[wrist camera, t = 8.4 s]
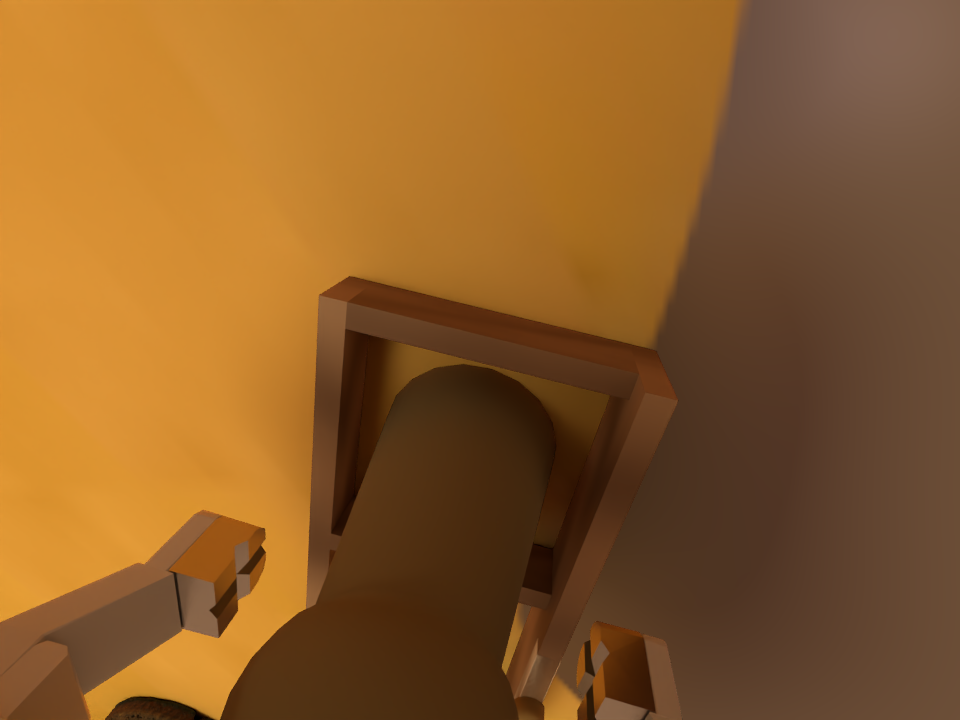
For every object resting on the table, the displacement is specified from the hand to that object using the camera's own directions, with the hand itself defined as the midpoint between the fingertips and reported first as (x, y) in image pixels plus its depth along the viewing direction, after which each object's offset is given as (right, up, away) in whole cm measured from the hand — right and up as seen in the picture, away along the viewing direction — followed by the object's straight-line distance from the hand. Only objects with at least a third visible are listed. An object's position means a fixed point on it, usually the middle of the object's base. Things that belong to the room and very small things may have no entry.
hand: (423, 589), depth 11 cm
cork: (+1, +3, +6) cm, 6 cm away
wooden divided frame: (0, -1, +7) cm, 8 cm away
